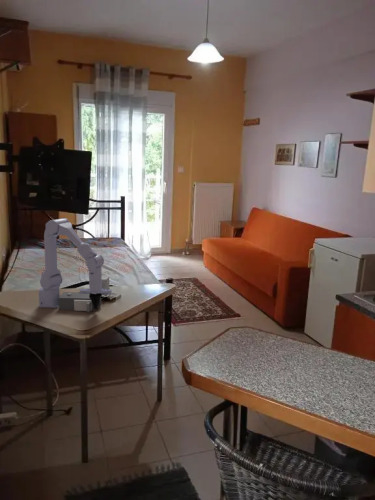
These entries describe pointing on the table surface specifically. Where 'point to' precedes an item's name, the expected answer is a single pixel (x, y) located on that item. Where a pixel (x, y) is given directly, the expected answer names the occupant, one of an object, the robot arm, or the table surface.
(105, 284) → the small box
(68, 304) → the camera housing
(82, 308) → the camera door
